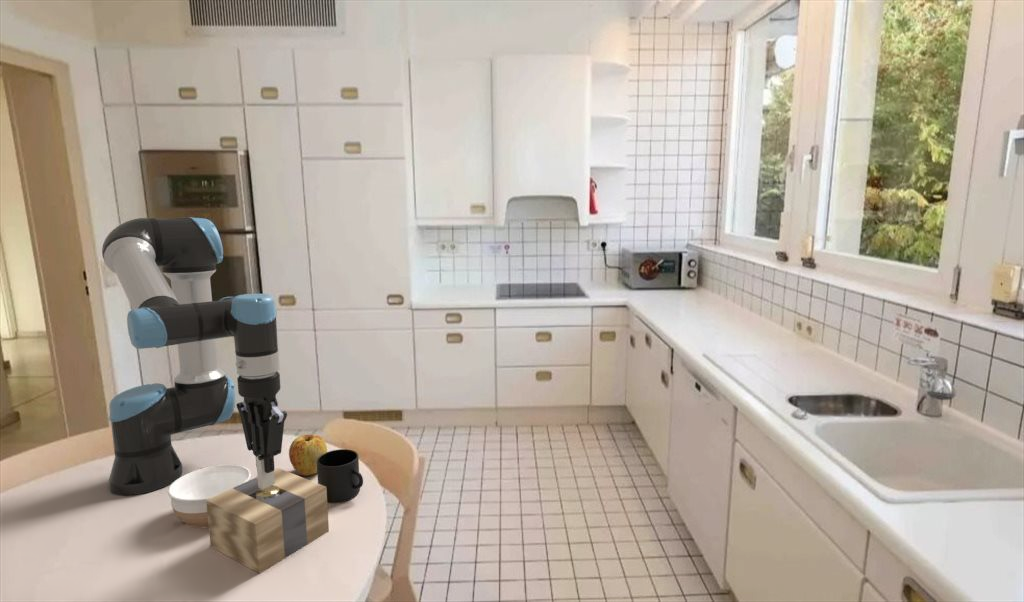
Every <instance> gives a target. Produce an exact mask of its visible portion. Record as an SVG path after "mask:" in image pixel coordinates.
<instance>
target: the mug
mask: <svg viewBox="0 0 1024 602" xmlns="http://www.w3.org/2000/svg"><path fill="white" fill-rule="evenodd" d="M359 460H360V459H359V453H358V452H357V451H355V450H352V449H345V448H342V449H340V448H339V449H333V450H330V451H327V452H326V453H324V454H322V455H321V456H319V457H318V459H317V473H316V475H317V483H318V484H320V485H323V486H326V489H327V503H329V504H330V503H331V504H333V503H334V504H335V503H337V504H338V503H343V502H346V501H347V502H348V501H349V500H351V499H354V498H355V497H356V496H357V495H358V494H359V492H360V490H361V488H362V486H363V485H364V477H363V475H362V473H361V472H360V463H359Z"/></svg>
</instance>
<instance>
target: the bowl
mask: <svg viewBox="0 0 1024 602" xmlns="http://www.w3.org/2000/svg"><path fill="white" fill-rule="evenodd" d="M251 474H252V473H251V471H250V470H249V469H248V468H247V467H245V466H243V465H238V464H219V465H217V464H216V465H211V466H207V467H203V468H199V469H195V470H193V471H191V472H188V473H186V474H183V475H181V477H180V478H178V479H177V480H175V481H174V482H173V483H171V484H169V487H168V490H167V494H168V496H169V498H170V505H171V508H172V511H173V513H174V514H175V515H176V517H177V518H179V520H181V521H183V522H184V523H185V524H186V525H187V526H189V527H191V528H194V529H205V528H209V524H208V514H207V503H206V500H207V499H210V498H212V497H214V496H216V495H219V494H221V493H223V492H225V491H227V490H230V489H232V488H234V487H236V486H239V485H241V484H243V483H245V482H247V481H250V480H251V477H252V475H251Z"/></svg>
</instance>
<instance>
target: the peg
mask: <svg viewBox="0 0 1024 602" xmlns="http://www.w3.org/2000/svg"><path fill="white" fill-rule="evenodd" d="M278 495H280V491H279V487H277V486H269V487H267V488H264V489H261V488H260V489H259V490H257V491H256V499H257V500H259V501H261V502H266V501H268V500H270V499H272V498H274V497H276V496H278Z"/></svg>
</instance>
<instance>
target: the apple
mask: <svg viewBox="0 0 1024 602" xmlns="http://www.w3.org/2000/svg"><path fill="white" fill-rule="evenodd" d="M327 448H328V447H327V444H326V442H325V440H324V439H323V438H322V437H321V436H320V435H317V434H304V435H300V436H298V437H296V438H295V439H294V440H292V442H291V444H290V446H289V449H288V458H289V461H290V463H291V466H292V467H293V469H294V470H295V472H297V474H299V476H301V477H306V476H307V477H308V476H311V475H315V474H317V459H318V457H319V456H321V455H322V454H324V453H326V452H328V449H327Z"/></svg>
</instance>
